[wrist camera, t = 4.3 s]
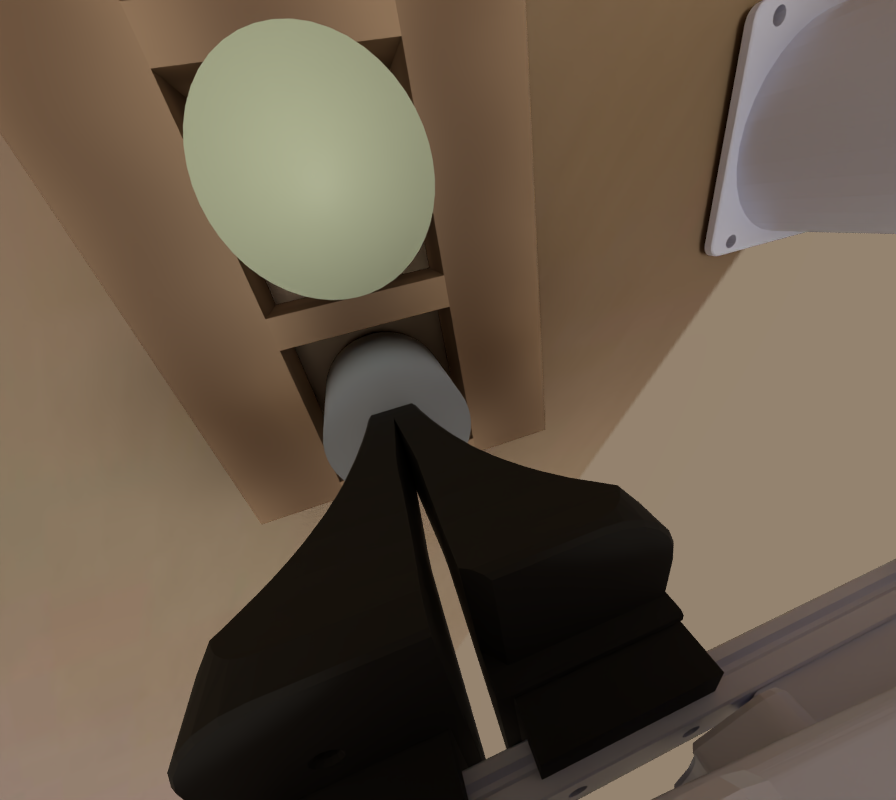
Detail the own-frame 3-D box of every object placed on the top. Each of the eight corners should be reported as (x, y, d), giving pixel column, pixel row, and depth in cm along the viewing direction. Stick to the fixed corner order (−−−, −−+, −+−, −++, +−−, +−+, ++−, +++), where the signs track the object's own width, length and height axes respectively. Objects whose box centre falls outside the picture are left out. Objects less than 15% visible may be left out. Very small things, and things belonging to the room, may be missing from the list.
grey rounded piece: (429, 318, 13) (458, 349, 10) (450, 418, 15) (479, 468, 12) (307, 351, 12) (297, 394, 9) (348, 450, 14) (351, 512, 11)
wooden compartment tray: (454, -449, 7) (495, -673, 5) (523, 408, 17) (545, 429, 15) (-343, -526, 5) (-709, -928, 3) (270, 489, 15) (261, 524, 13)
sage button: (382, 77, 9) (406, 4, 6) (420, 259, 11) (451, 273, 8) (200, 104, 8) (120, 37, 5) (279, 292, 10) (255, 321, 7)
